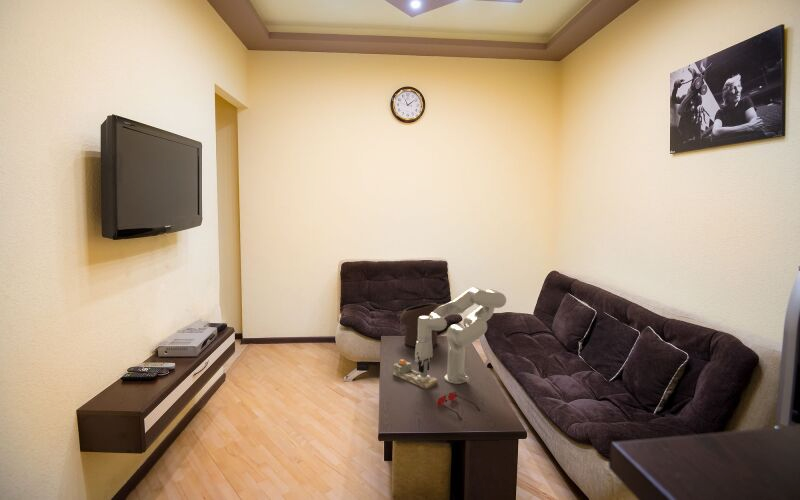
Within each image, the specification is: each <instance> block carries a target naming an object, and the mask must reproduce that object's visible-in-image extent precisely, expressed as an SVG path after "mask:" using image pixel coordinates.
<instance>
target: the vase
mask: <svg viewBox="0 0 800 500" xmlns="http://www.w3.org/2000/svg"><path fill="white" fill-rule="evenodd" d="M438 307H439V306H438V304H437V303H436V302H430V303H423V304H418V305H413V306H410V307H408V308H405V309H404V310H403V312H402V313H401V315H400V317H399V321H400V323H401V324H402V325H404V326H405V334H404V343H405V344H406V345H407V346H408V347H412V348H416V343H417V341H418V318H419V317H420V316H429V314H430V313H431V312H433V311H434V310H435V309H437V308H438ZM431 336H432V337H431V340H432V347H435V345H437V342H438V333H437V330H431Z"/></svg>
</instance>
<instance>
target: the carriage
mask: <svg viewBox="0 0 800 500" xmlns="http://www.w3.org/2000/svg"><path fill="white" fill-rule="evenodd" d="M420 362H421V361H420ZM423 366H424V372H423V373H422V372H419V373H420V375H418V376H417V379H419V380H421V381H425V380H428V379H430V378H431V375H430V374H428V370H427V368H428V360H426V359H425V360H423Z"/></svg>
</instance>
